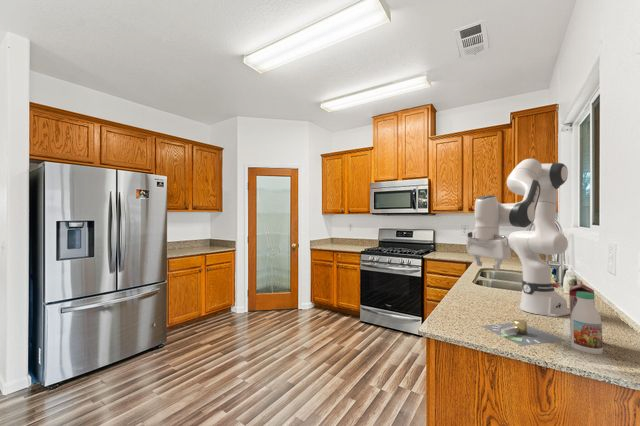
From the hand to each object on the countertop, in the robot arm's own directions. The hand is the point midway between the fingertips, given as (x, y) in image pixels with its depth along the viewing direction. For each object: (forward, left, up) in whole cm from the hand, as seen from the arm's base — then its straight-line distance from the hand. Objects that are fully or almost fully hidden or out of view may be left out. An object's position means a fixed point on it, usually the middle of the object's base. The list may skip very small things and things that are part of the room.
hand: (487, 267), depth 119 cm
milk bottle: (-16, +25, -25) cm, 39 cm away
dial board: (-6, +9, -25) cm, 27 cm away
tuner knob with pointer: (-2, +10, -24) cm, 26 cm away
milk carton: (-24, +18, -25) cm, 39 cm away
